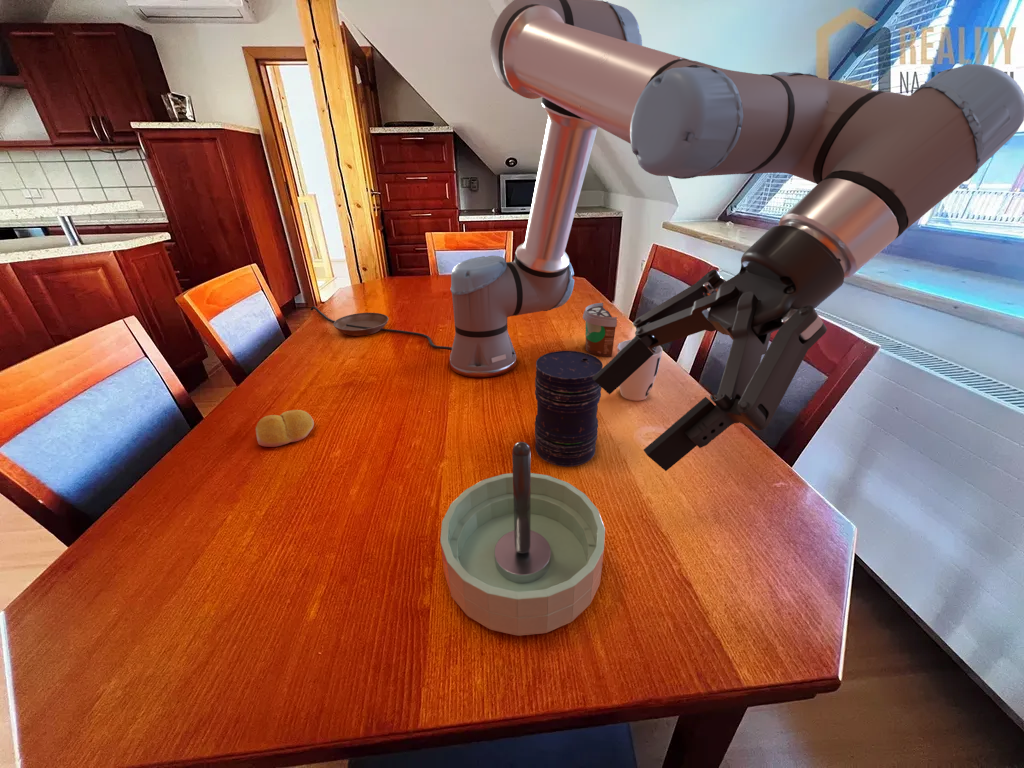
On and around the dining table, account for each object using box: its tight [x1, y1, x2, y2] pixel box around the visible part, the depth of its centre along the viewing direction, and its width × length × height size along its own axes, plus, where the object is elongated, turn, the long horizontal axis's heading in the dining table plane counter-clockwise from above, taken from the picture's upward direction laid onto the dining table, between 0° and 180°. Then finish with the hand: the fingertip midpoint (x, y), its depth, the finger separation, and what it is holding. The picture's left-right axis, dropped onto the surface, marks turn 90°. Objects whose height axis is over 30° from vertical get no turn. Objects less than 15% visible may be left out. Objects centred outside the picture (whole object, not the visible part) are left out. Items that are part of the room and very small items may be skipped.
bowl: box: [439, 472, 606, 637], centre depth 47 cm, size 18×18×6 cm
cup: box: [616, 339, 663, 402], centre depth 81 cm, size 8×8×10 cm
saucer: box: [332, 312, 390, 337], centre depth 119 cm, size 15×15×3 cm
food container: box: [582, 302, 618, 357], centre depth 102 cm, size 12×6×10 cm, turn 5°
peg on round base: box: [494, 441, 551, 583], centre depth 45 cm, size 6×6×16 cm
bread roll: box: [255, 409, 315, 448], centre depth 73 cm, size 8×9×4 cm
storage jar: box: [534, 350, 604, 467], centre depth 65 cm, size 10×10×15 cm
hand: (623, 418), depth 41 cm, fingers open, 13 cm apart
